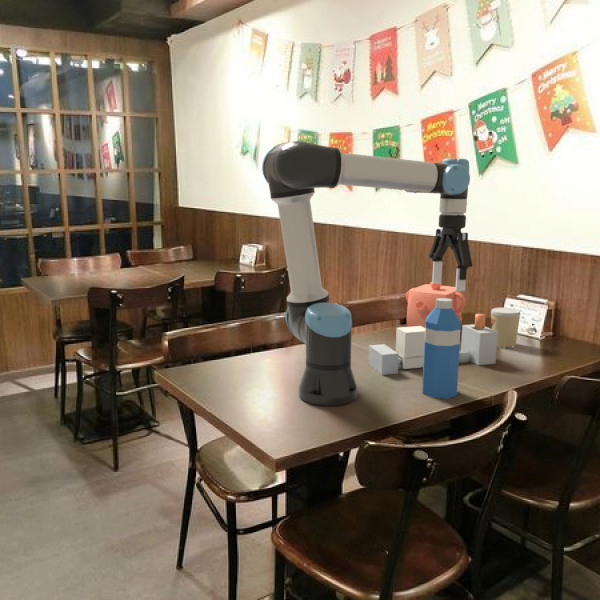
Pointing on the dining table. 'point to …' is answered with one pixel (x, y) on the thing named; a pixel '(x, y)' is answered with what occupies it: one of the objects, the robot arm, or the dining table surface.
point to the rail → (463, 357)
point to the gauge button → (480, 321)
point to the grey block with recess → (479, 344)
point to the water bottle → (441, 351)
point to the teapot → (431, 302)
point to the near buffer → (383, 359)
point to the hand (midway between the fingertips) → (447, 286)
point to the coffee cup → (505, 325)
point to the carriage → (411, 346)
